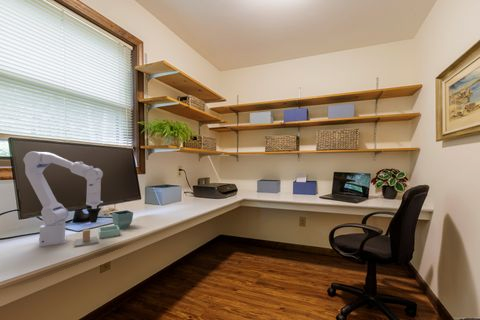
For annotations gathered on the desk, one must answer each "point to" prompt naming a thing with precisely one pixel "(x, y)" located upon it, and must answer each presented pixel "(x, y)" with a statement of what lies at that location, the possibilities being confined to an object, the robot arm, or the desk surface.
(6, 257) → the desk surface
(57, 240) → the robot arm
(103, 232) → the dish
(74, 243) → the mat
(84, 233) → the lid
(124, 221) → the flower pot
